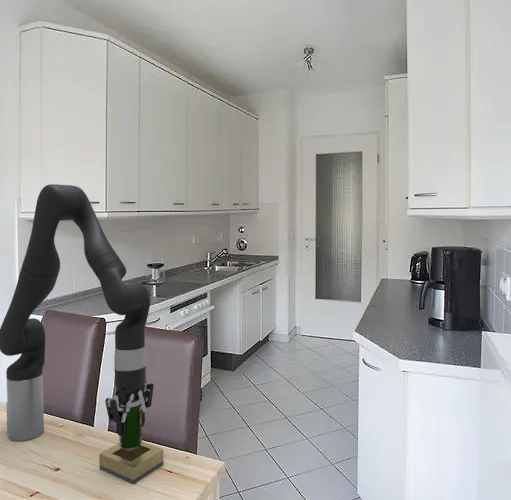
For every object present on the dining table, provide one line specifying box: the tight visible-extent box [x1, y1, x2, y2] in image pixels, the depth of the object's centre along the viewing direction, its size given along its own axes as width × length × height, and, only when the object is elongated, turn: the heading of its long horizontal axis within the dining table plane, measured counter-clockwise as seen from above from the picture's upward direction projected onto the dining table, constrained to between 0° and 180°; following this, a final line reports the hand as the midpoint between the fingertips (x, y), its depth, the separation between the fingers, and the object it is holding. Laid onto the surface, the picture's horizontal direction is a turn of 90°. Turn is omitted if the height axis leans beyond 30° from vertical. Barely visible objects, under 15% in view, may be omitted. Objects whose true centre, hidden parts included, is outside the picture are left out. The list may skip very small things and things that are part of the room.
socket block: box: [98, 441, 164, 485], centre depth 111 cm, size 12×10×4 cm
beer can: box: [118, 399, 143, 451], centre depth 110 cm, size 5×5×12 cm
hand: (131, 430), depth 110 cm, fingers closed on beer can, 5 cm apart
